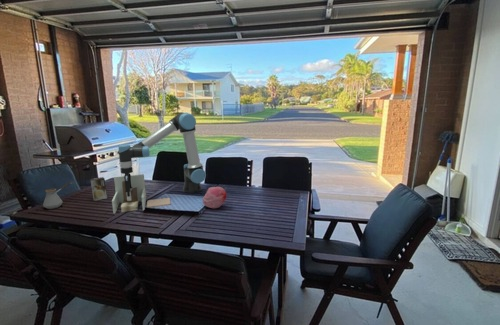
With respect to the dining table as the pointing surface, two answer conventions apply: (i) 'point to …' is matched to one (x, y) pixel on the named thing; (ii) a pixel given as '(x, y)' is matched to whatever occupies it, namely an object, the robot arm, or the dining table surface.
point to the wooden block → (133, 194)
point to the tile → (158, 202)
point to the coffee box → (98, 188)
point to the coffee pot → (53, 198)
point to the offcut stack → (129, 206)
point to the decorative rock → (214, 197)
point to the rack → (135, 182)
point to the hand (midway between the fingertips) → (129, 199)
